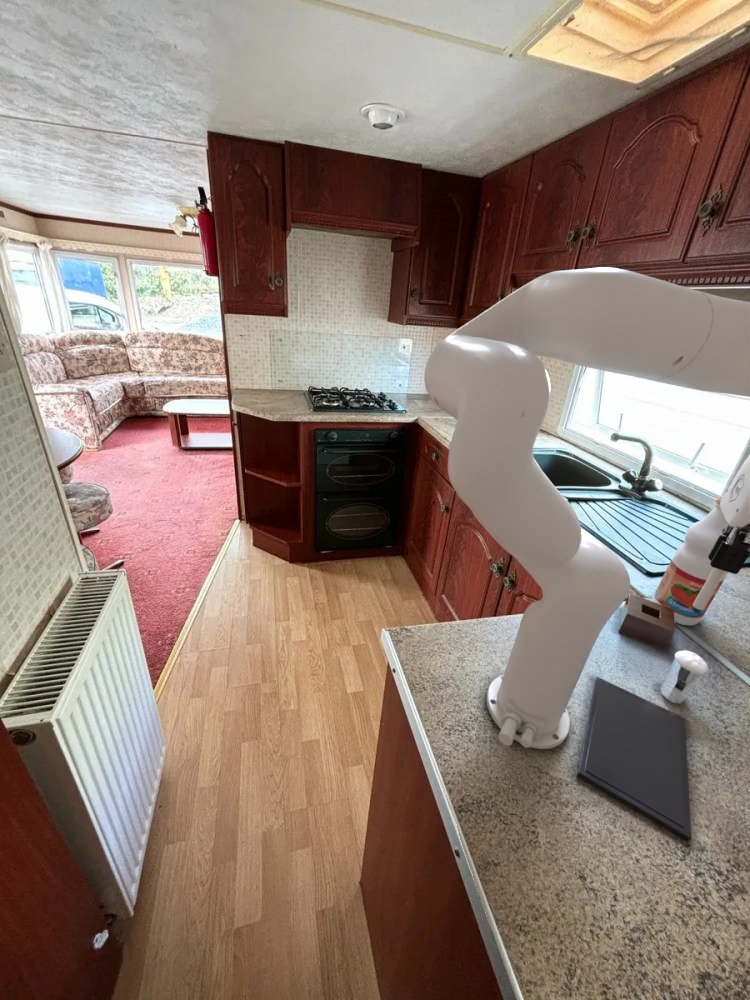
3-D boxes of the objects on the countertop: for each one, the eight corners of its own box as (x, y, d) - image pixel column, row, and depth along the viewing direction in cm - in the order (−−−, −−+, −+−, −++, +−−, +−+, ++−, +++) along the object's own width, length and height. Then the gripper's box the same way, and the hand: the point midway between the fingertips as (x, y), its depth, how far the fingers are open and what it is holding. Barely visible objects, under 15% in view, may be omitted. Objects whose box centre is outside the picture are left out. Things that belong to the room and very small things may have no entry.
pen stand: (664, 651, 79) (675, 632, 77) (618, 632, 83) (627, 613, 81) (664, 627, 86) (674, 609, 83) (621, 610, 89) (629, 592, 87)
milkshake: (677, 714, 66) (704, 671, 62) (649, 686, 71) (673, 644, 67) (697, 709, 68) (725, 666, 63) (669, 682, 72) (693, 641, 68)
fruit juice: (684, 601, 95) (742, 494, 83) (708, 630, 86) (778, 515, 74) (642, 595, 95) (694, 487, 83) (662, 622, 87) (723, 507, 75)
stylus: (701, 615, 61) (749, 536, 55) (690, 611, 62) (735, 532, 56) (700, 610, 62) (746, 532, 56) (689, 606, 63) (734, 528, 57)
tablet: (688, 842, 50) (691, 837, 49) (576, 776, 56) (578, 771, 55) (682, 722, 65) (685, 717, 65) (595, 680, 71) (597, 675, 71)
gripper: (743, 426, 58) (686, 536, 66) (769, 450, 46) (696, 581, 54) (811, 439, 55) (743, 553, 63) (860, 468, 42) (767, 605, 50)
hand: (722, 565), depth 58 cm, fingers closed on stylus, 1 cm apart
